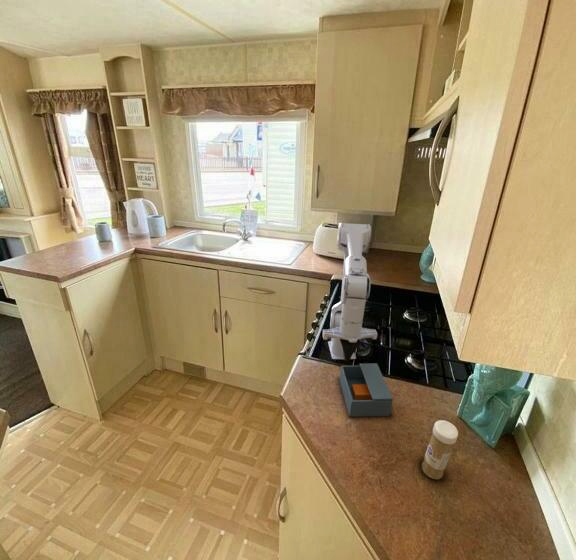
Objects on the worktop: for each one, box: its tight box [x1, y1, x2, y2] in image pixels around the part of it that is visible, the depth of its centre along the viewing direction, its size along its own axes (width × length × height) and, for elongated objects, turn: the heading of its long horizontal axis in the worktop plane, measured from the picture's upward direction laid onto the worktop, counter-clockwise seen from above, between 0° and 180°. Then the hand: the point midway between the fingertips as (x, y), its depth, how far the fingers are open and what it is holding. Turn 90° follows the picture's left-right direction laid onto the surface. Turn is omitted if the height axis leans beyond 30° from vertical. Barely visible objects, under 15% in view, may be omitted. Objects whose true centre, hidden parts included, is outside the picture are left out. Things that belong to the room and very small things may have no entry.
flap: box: [359, 362, 394, 401], centre depth 87 cm, size 14×5×1 cm, turn 3°
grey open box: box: [339, 365, 394, 418], centre depth 88 cm, size 14×11×5 cm
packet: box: [351, 384, 373, 400], centre depth 89 cm, size 6×4×2 cm, turn 93°
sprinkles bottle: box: [421, 419, 459, 480], centre depth 67 cm, size 5×5×14 cm
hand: (346, 358), depth 88 cm, fingers closed
